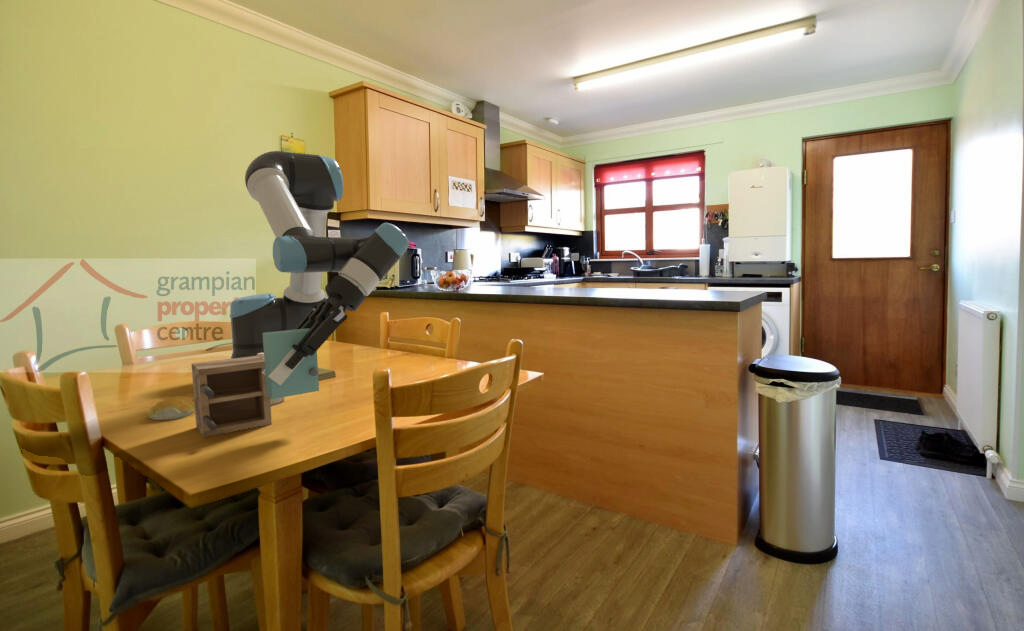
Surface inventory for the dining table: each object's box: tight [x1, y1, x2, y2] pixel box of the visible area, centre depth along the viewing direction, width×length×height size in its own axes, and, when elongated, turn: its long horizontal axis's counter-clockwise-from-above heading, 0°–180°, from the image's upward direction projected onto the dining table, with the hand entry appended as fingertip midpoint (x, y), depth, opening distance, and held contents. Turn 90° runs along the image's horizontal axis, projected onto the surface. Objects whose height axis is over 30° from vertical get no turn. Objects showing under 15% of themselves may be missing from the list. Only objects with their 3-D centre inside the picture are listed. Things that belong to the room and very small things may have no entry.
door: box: [263, 328, 320, 399], centre depth 98 cm, size 4×9×12 cm, turn 130°
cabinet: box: [191, 356, 273, 438], centre depth 101 cm, size 14×12×13 cm
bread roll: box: [148, 395, 195, 421], centre depth 112 cm, size 8×9×4 cm
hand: (271, 378), depth 96 cm, fingers closed on door, 3 cm apart
